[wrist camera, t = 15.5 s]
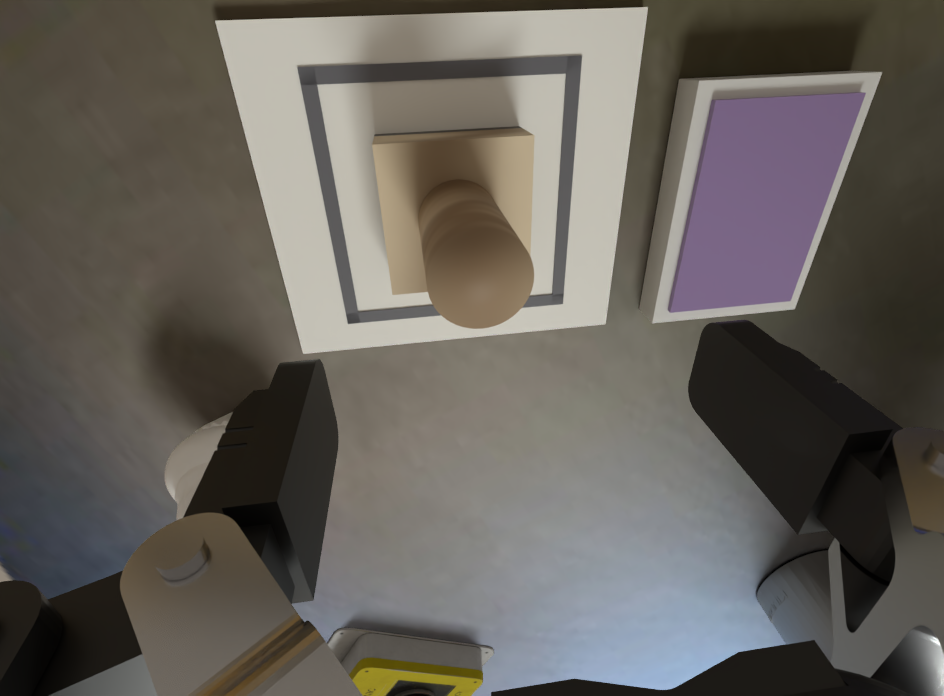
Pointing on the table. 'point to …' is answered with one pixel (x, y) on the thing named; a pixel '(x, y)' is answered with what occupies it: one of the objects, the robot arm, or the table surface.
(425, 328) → the sheet
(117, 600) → the robot arm
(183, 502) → the white rounded piece
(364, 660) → the emergency button
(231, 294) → the table surface
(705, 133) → the ink pad
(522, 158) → the stamp
